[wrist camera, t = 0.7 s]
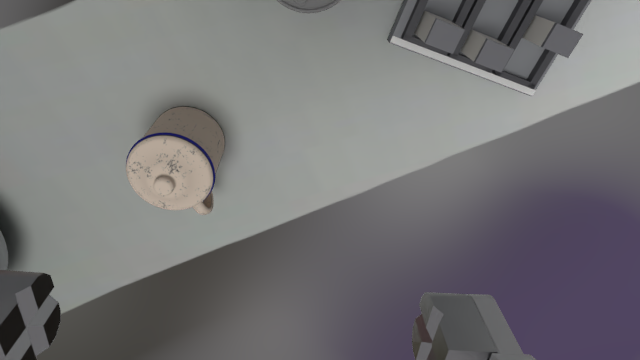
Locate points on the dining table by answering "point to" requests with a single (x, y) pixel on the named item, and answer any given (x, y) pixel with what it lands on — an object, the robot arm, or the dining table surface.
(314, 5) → the canned tomato
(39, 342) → the robot arm
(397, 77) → the dining table surface
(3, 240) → the serving bowl
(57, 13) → the dining table surface
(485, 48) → the block
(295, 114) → the dining table surface
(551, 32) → the block
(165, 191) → the teacup with lid
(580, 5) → the panel
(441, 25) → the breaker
